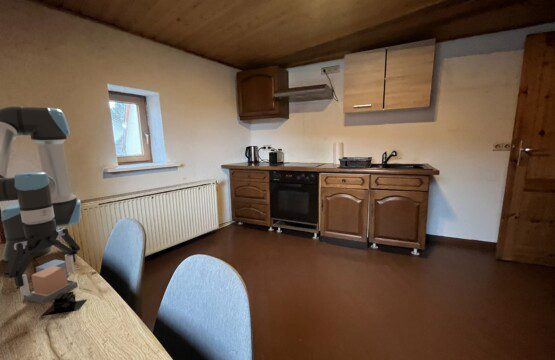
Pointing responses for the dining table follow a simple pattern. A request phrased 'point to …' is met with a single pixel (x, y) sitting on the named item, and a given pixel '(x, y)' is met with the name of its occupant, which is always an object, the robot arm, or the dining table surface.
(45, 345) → the dining table surface
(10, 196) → the robot arm
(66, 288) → the blueprint board
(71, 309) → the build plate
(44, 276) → the terracotta block
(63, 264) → the blue block
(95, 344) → the dining table surface
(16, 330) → the dining table surface
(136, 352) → the dining table surface
